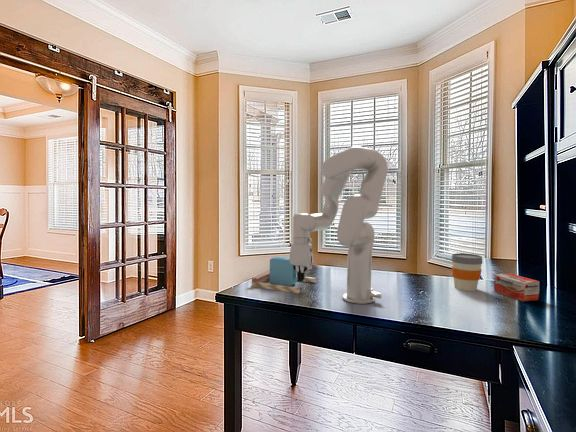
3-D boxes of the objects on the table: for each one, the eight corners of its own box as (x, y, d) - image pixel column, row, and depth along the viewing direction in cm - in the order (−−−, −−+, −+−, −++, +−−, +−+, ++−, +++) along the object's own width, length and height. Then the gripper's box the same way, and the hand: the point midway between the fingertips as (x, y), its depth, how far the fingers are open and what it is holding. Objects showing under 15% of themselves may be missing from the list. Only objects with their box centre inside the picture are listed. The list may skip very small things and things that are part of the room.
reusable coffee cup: (449, 289, 160) (450, 256, 159) (451, 283, 171) (452, 252, 170) (481, 293, 154) (483, 259, 153) (481, 287, 165) (482, 254, 164)
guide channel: (316, 282, 171) (316, 273, 170) (298, 293, 152) (298, 284, 152) (273, 276, 181) (273, 268, 180) (251, 286, 162) (251, 277, 162)
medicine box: (493, 291, 158) (494, 273, 158) (508, 290, 160) (509, 273, 160) (523, 302, 144) (524, 282, 143) (539, 300, 146) (540, 281, 145)
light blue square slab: (296, 284, 167) (296, 258, 166) (292, 286, 163) (292, 260, 162) (273, 281, 172) (274, 256, 171) (269, 283, 168) (269, 257, 167)
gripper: (319, 240, 161) (319, 281, 163) (289, 238, 168) (289, 277, 169) (313, 243, 155) (312, 284, 156) (282, 240, 161) (282, 280, 163)
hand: (300, 280), depth 163 cm, fingers closed
